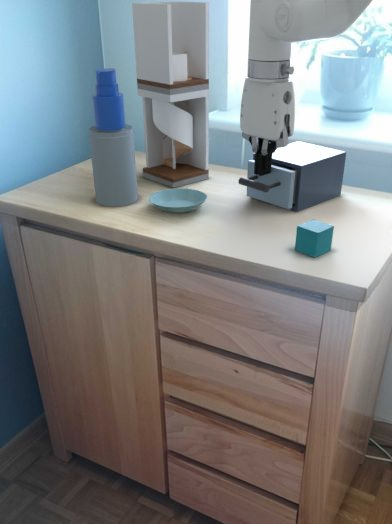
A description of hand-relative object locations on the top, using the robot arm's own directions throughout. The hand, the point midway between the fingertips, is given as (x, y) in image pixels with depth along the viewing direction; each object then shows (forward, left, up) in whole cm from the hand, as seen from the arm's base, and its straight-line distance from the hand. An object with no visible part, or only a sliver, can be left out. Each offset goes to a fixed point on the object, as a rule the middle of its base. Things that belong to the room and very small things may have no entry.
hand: (262, 173), depth 110 cm
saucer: (+12, +12, -7) cm, 18 cm away
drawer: (0, -6, -6) cm, 9 cm away
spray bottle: (+25, +18, -7) cm, 31 cm away
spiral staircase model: (+28, -1, -7) cm, 29 cm away
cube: (-20, +9, -7) cm, 23 cm away
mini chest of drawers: (0, -11, -7) cm, 13 cm away
